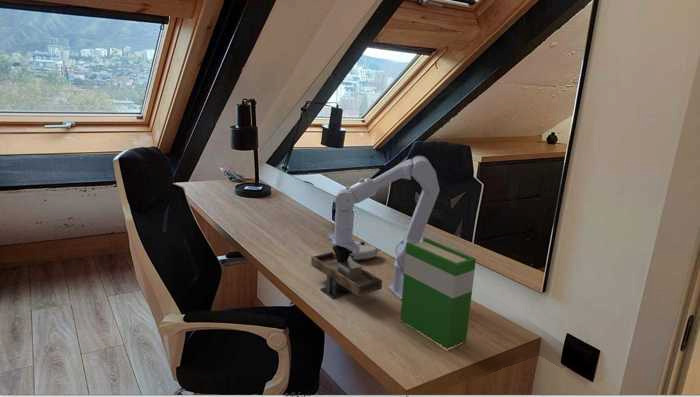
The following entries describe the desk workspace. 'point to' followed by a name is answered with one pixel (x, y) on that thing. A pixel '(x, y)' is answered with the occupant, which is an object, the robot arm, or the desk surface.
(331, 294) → the pivot stand
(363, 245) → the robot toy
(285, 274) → the desk surface
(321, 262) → the wooden rimmed tray
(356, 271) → the block
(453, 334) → the hardback book
